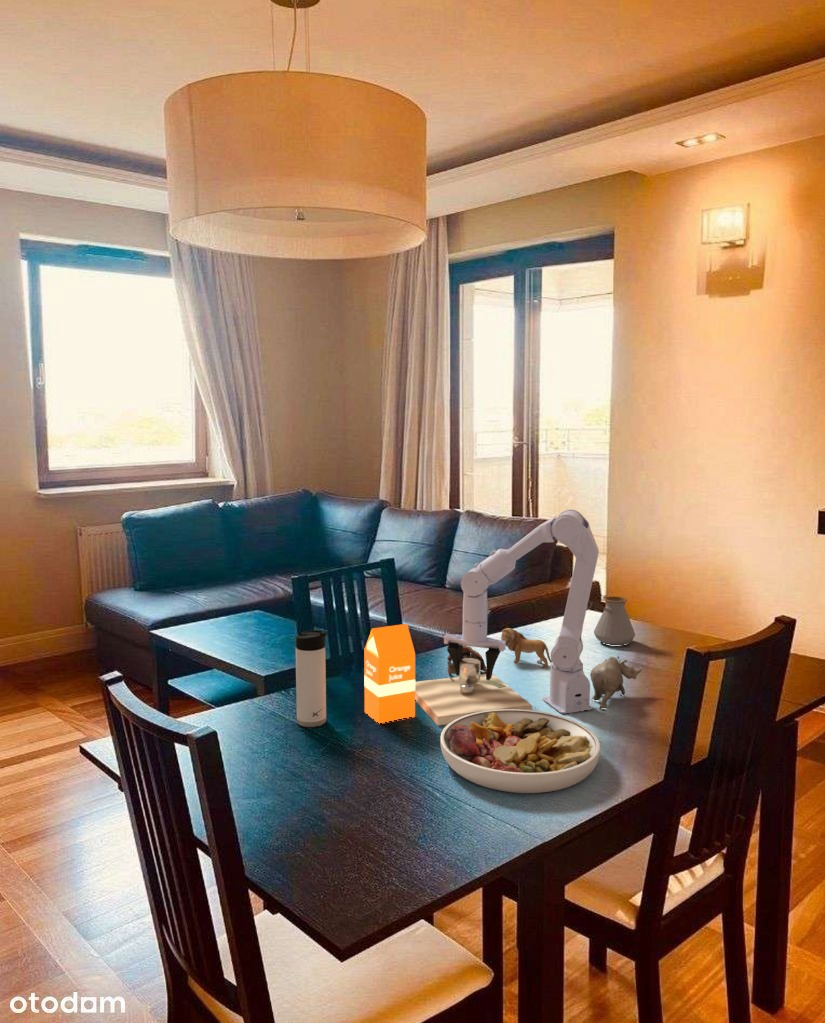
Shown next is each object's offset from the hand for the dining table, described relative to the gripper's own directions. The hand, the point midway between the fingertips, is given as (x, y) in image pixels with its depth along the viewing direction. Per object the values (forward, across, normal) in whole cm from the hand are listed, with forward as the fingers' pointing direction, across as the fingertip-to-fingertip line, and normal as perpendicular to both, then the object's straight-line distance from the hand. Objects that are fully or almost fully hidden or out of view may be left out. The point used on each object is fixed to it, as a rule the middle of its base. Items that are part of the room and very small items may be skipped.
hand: (473, 676), depth 190 cm
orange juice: (+5, +13, +19) cm, 24 cm away
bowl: (+5, -19, +31) cm, 37 cm away
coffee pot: (+4, -23, -50) cm, 55 cm away
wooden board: (+4, 0, +6) cm, 7 cm away
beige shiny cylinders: (+2, +1, +2) cm, 3 cm away
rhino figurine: (+4, -30, -10) cm, 32 cm away
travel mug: (+5, +27, +29) cm, 40 cm away
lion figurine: (+4, -6, -27) cm, 28 cm away
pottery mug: (+5, +6, -13) cm, 15 cm away
